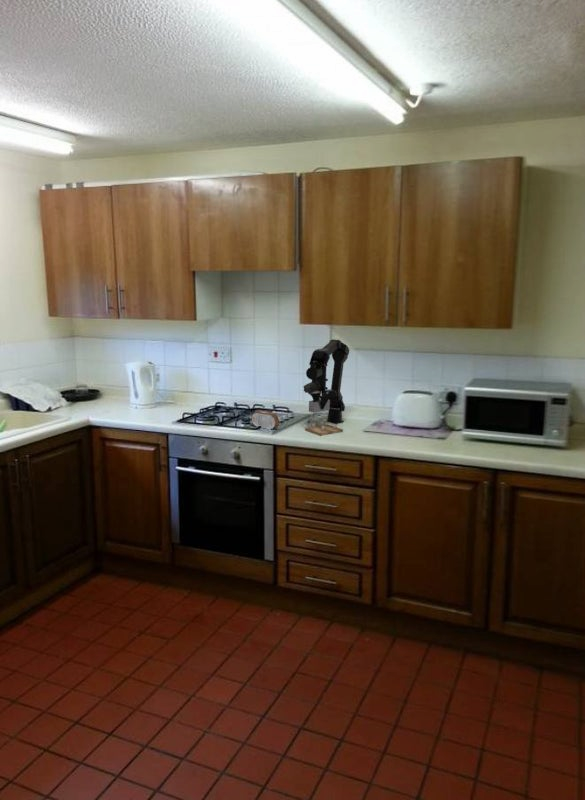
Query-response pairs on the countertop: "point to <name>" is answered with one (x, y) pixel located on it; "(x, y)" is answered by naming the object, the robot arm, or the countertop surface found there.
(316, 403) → the drive
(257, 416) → the tin
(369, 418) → the countertop surface
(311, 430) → the pin tray
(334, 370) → the robot arm
